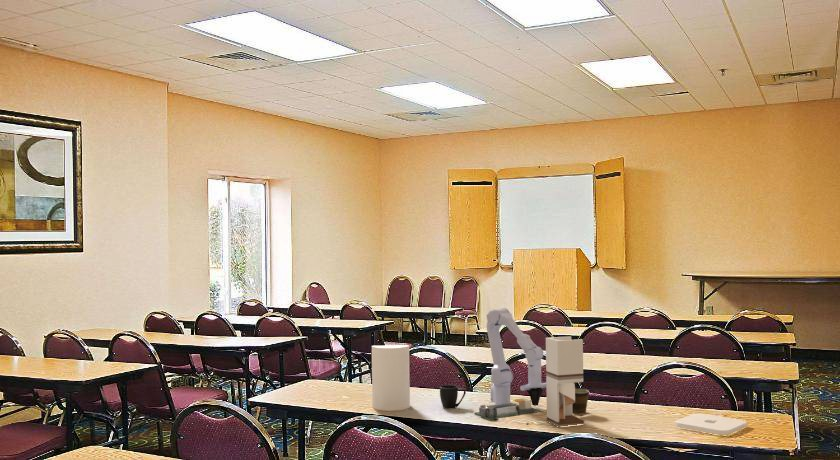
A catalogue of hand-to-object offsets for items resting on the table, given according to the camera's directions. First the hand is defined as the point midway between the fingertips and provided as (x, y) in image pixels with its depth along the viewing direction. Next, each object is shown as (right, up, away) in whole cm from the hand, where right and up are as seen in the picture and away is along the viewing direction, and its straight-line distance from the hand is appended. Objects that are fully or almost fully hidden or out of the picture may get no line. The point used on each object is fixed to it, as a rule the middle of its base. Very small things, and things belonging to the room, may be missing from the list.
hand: (535, 405), depth 332 cm
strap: (-17, +1, -9) cm, 19 cm away
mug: (-36, -3, +7) cm, 37 cm away
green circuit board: (-12, -2, -7) cm, 14 cm away
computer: (+65, -2, -34) cm, 73 cm away
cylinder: (-65, -3, +11) cm, 66 cm away
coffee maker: (+9, -2, -25) cm, 26 cm away
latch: (-6, -1, -3) cm, 7 cm away
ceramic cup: (+16, -2, -9) cm, 18 cm away
